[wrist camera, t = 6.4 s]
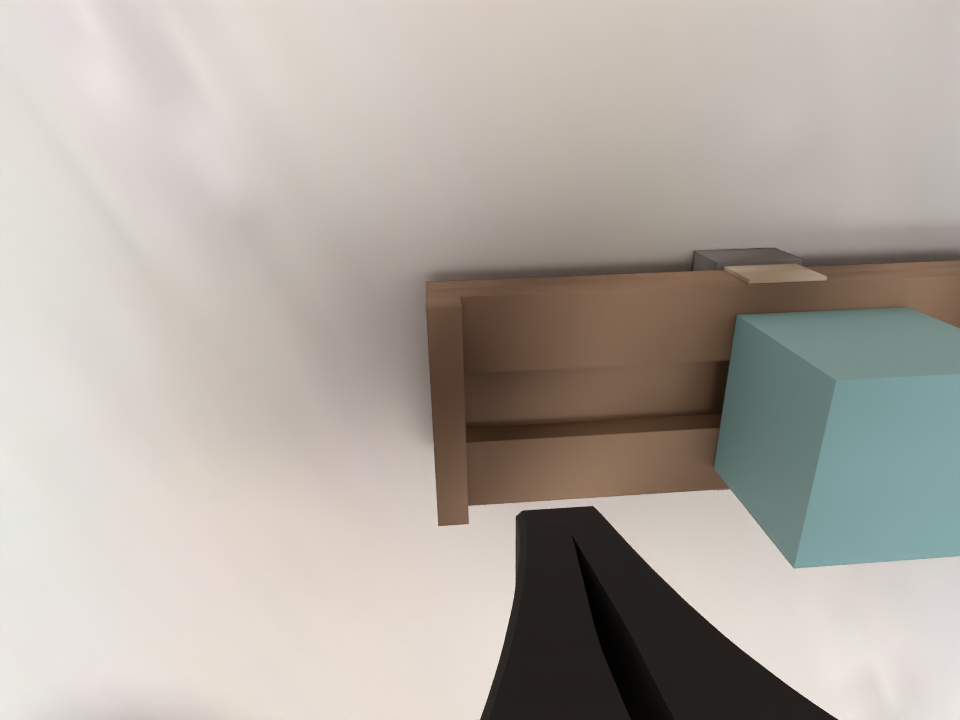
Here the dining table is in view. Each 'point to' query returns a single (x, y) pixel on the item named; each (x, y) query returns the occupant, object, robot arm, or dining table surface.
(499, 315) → the brown wooden rack
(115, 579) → the dining table surface
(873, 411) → the teal block
